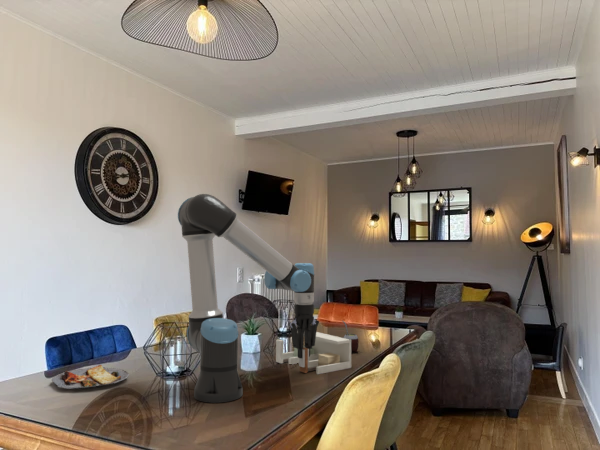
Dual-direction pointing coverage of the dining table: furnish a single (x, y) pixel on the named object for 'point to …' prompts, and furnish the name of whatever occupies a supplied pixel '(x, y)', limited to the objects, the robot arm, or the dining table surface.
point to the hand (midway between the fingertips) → (303, 366)
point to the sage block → (280, 352)
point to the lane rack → (327, 345)
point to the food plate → (90, 377)
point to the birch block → (320, 360)
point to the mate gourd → (352, 340)
